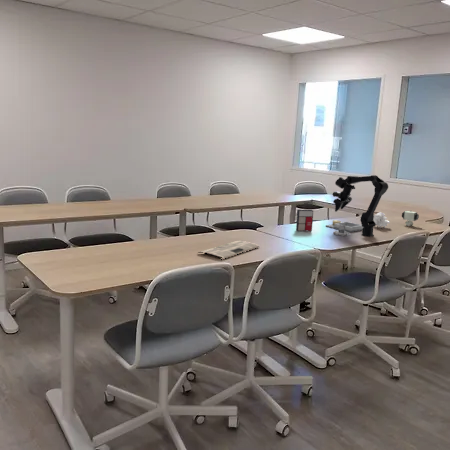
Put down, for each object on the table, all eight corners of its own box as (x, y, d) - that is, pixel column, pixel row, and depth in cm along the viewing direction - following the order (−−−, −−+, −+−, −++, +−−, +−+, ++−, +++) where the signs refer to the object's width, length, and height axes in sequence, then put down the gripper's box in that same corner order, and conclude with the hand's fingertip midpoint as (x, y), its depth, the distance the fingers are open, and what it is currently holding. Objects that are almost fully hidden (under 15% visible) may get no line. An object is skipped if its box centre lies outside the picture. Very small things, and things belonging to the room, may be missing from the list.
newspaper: (222, 261, 251) (222, 256, 251) (195, 254, 263) (195, 249, 262) (259, 248, 280) (259, 244, 280) (233, 243, 292) (233, 238, 291)
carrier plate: (363, 229, 344) (364, 224, 343) (350, 232, 333) (350, 226, 332) (339, 224, 360) (339, 219, 359) (325, 226, 349) (326, 221, 348)
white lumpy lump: (389, 229, 347) (391, 214, 345) (373, 228, 349) (374, 213, 347) (387, 226, 358) (389, 211, 355) (371, 225, 360) (373, 210, 358)
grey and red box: (297, 231, 329) (299, 210, 326) (295, 230, 334) (297, 209, 330) (312, 231, 332) (313, 210, 329) (310, 229, 336) (311, 209, 333)
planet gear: (352, 234, 325) (353, 225, 323) (343, 236, 318) (343, 227, 316) (339, 231, 333) (340, 223, 331) (330, 233, 326) (331, 224, 324)
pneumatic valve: (415, 227, 360) (417, 212, 357) (400, 224, 367) (402, 209, 365) (418, 226, 364) (419, 211, 361) (403, 223, 371) (404, 209, 369)
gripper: (342, 184, 347) (335, 202, 354) (331, 188, 333) (323, 207, 340) (355, 191, 341) (347, 209, 349) (344, 196, 328) (336, 214, 335)
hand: (338, 210), depth 343 cm, fingers open, 9 cm apart
